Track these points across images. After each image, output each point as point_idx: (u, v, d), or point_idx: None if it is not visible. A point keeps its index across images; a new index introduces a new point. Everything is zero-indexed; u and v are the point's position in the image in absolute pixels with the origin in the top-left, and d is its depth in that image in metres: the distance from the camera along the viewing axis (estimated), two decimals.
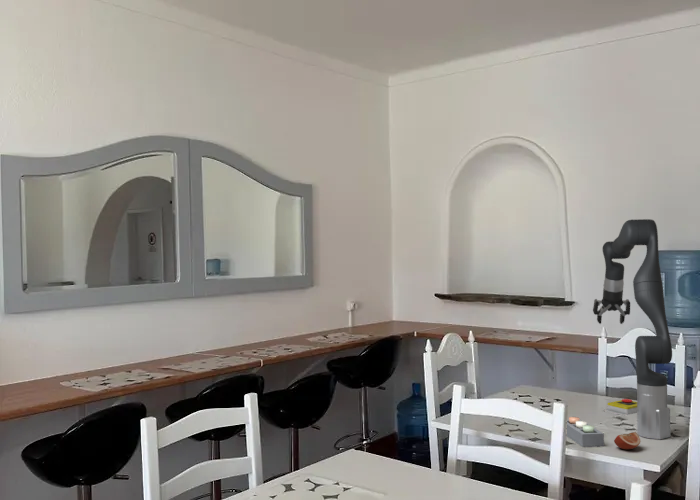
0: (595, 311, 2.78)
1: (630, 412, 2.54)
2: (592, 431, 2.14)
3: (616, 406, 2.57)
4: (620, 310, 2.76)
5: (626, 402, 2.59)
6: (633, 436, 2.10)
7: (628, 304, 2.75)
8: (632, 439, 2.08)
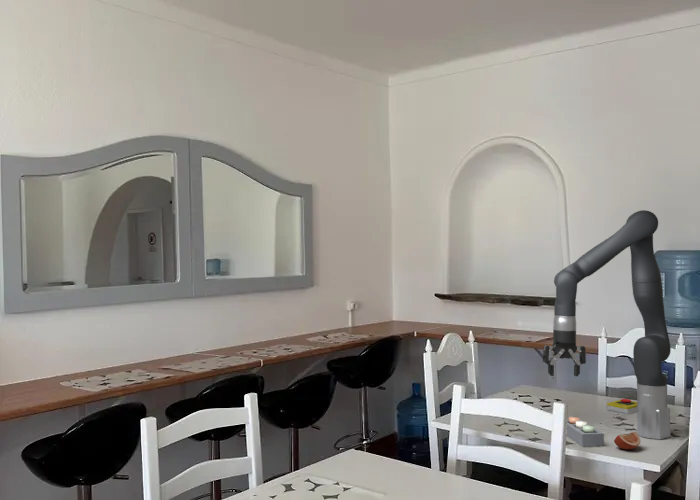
0: (546, 359, 2.29)
1: (630, 412, 2.54)
2: (592, 431, 2.14)
3: (616, 406, 2.56)
4: (575, 357, 2.29)
5: (625, 402, 2.59)
6: (633, 436, 2.10)
7: (583, 350, 2.30)
8: (632, 439, 2.08)
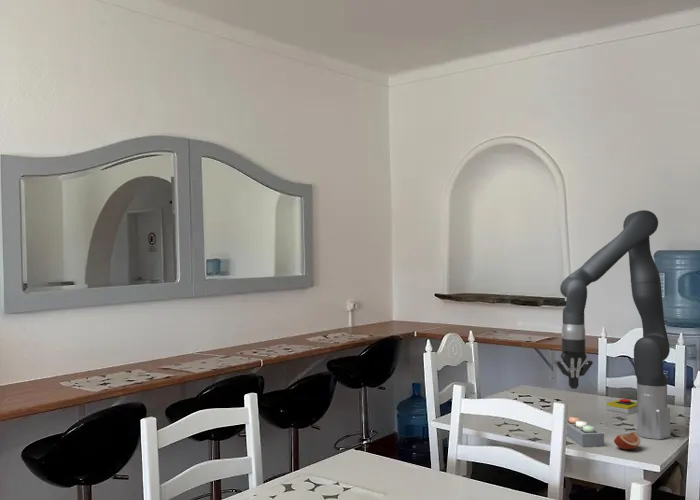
0: (565, 372, 2.25)
1: (631, 412, 2.54)
2: (592, 431, 2.14)
3: (616, 406, 2.56)
4: (578, 368, 2.25)
5: (625, 402, 2.59)
6: (633, 436, 2.10)
7: (589, 364, 2.26)
8: (632, 439, 2.08)
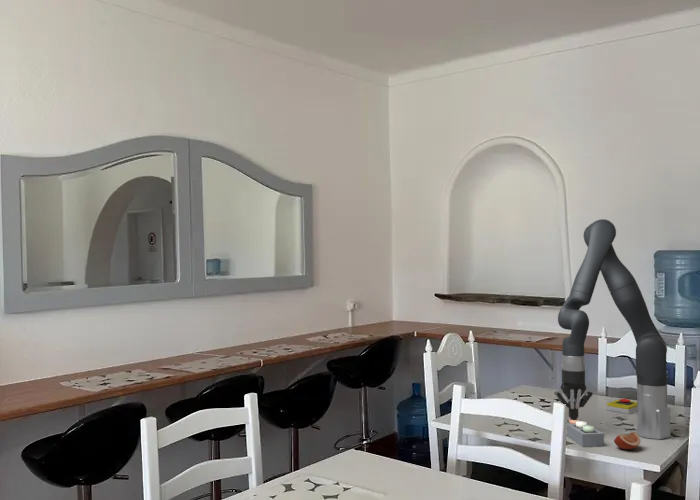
0: None
1: (631, 412, 2.54)
2: (592, 431, 2.14)
3: (617, 406, 2.56)
4: (578, 399, 2.25)
5: (624, 402, 2.59)
6: (633, 436, 2.10)
7: (589, 395, 2.26)
8: (632, 439, 2.08)
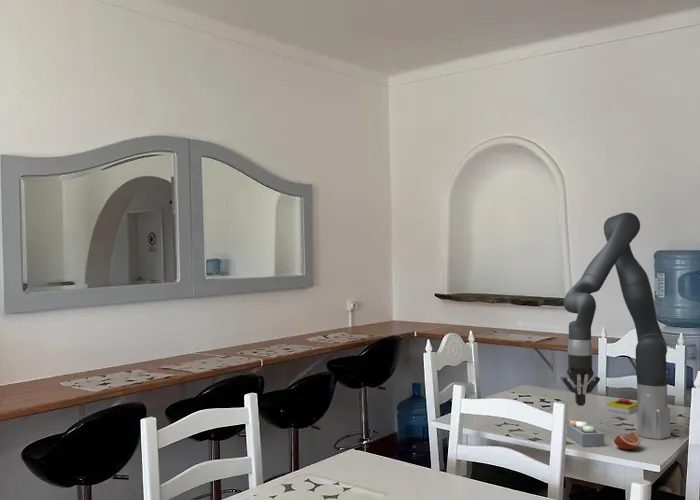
0: (572, 389, 2.20)
1: (631, 412, 2.54)
2: (592, 431, 2.14)
3: (617, 406, 2.56)
4: (585, 384, 2.20)
5: (624, 402, 2.59)
6: (633, 436, 2.10)
7: (596, 380, 2.20)
8: (632, 439, 2.08)
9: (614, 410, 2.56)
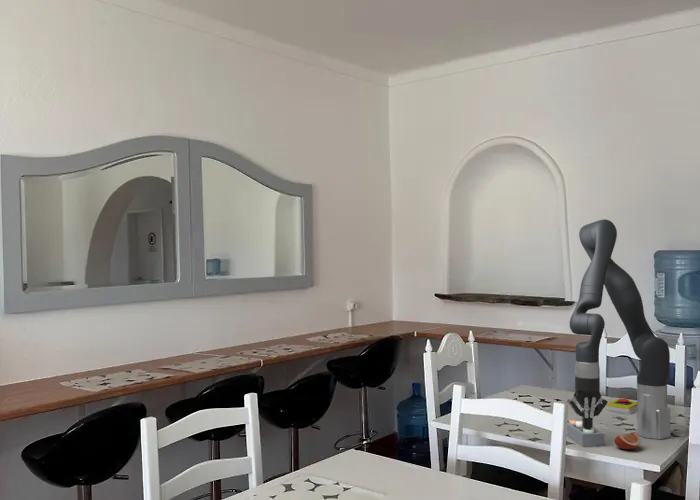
0: (579, 412, 2.15)
1: (631, 412, 2.54)
2: None
3: (617, 407, 2.56)
4: (593, 408, 2.14)
5: (623, 402, 2.59)
6: (633, 436, 2.10)
7: (604, 403, 2.15)
8: (632, 439, 2.08)
9: (614, 410, 2.56)
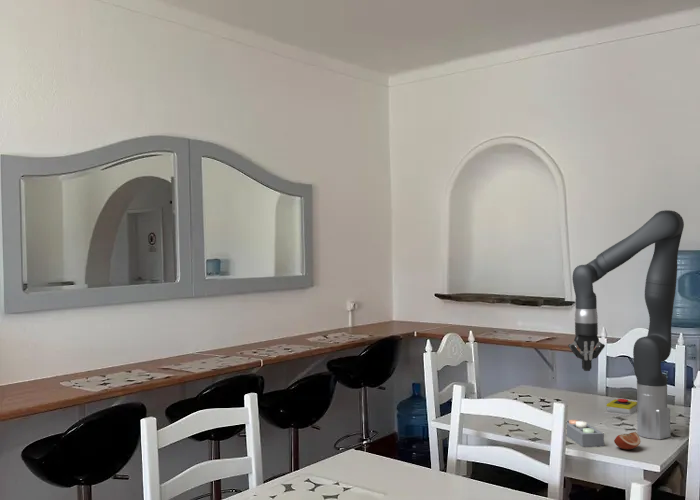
0: (579, 355, 2.34)
1: (632, 412, 2.54)
2: None
3: (617, 407, 2.55)
4: (591, 351, 2.34)
5: (623, 402, 2.59)
6: (633, 436, 2.10)
7: (601, 347, 2.35)
8: (632, 439, 2.08)
9: (615, 410, 2.56)
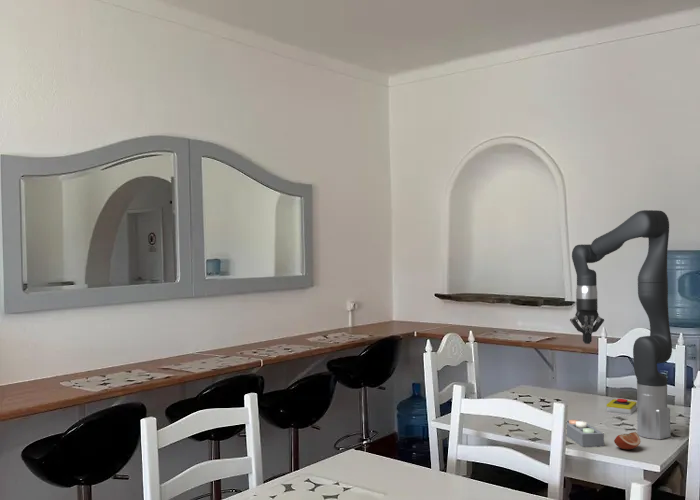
0: (580, 329, 2.51)
1: (632, 412, 2.54)
2: None
3: (618, 407, 2.55)
4: (591, 325, 2.51)
5: (622, 402, 2.59)
6: (633, 436, 2.10)
7: (601, 321, 2.52)
8: (632, 439, 2.08)
9: (615, 411, 2.56)
